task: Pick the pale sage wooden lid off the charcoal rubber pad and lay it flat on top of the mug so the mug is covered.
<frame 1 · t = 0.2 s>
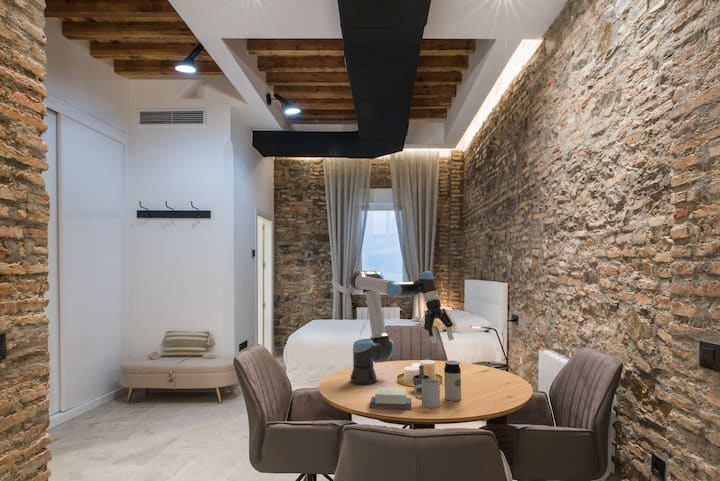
hand: (443, 341, 205), 28 cm above the table, tool tilted 20°, fingers open, 13 cm apart
lid: (391, 399, 192), point 2 cm above the table, touching mat
travel mug: (453, 399, 201), on the table
mat: (391, 405, 192), on the table
mug: (427, 405, 191), on the table
mortar and pestle: (421, 390, 216), on the table
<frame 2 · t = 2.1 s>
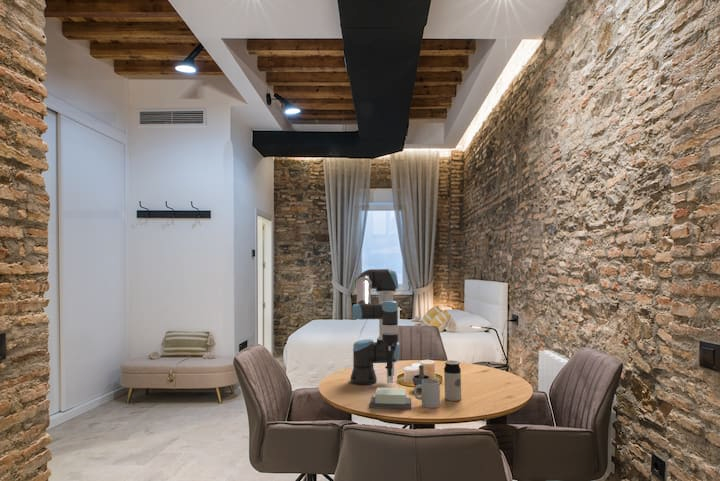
hand: (390, 379, 192), 12 cm above the table, tool pointing down, fingers open, 13 cm apart
nothing on the table moved.
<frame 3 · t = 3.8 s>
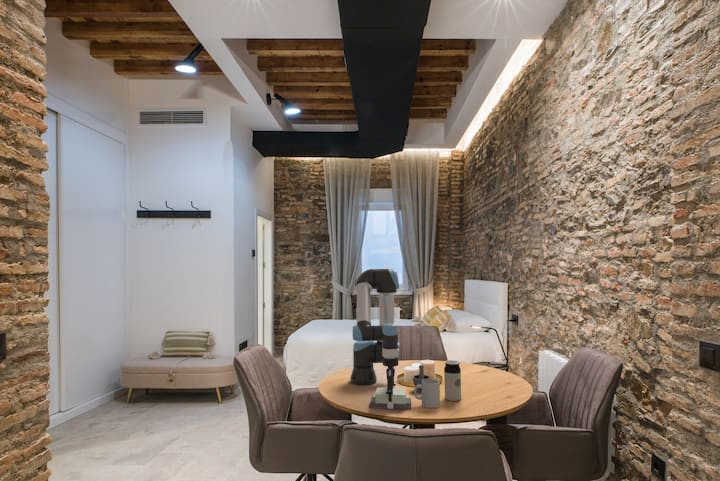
hand: (391, 404, 192), 1 cm above the table, tool pointing down, fingers closed on lid, 11 cm apart
lid: (391, 399, 192), point 3 cm above the table, touching gripper, mat
everything else where it was.
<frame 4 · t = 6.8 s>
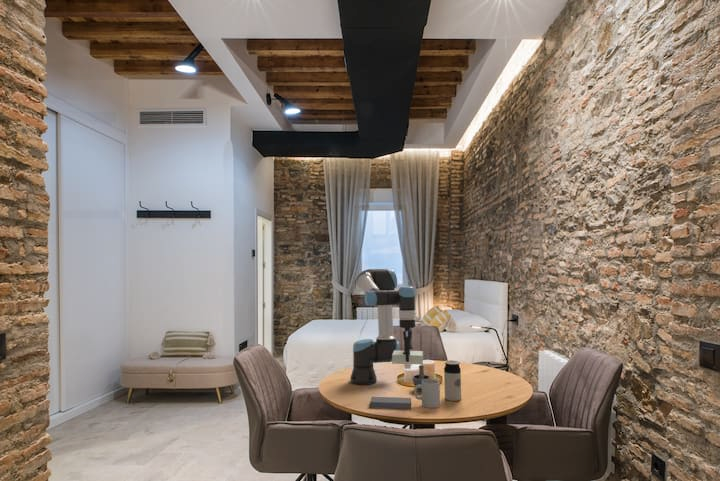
hand: (408, 365, 193), 18 cm above the table, tool pointing down, fingers closed on lid, 11 cm apart
lid: (407, 361, 193), point 20 cm above the table, touching gripper
everything else where it was.
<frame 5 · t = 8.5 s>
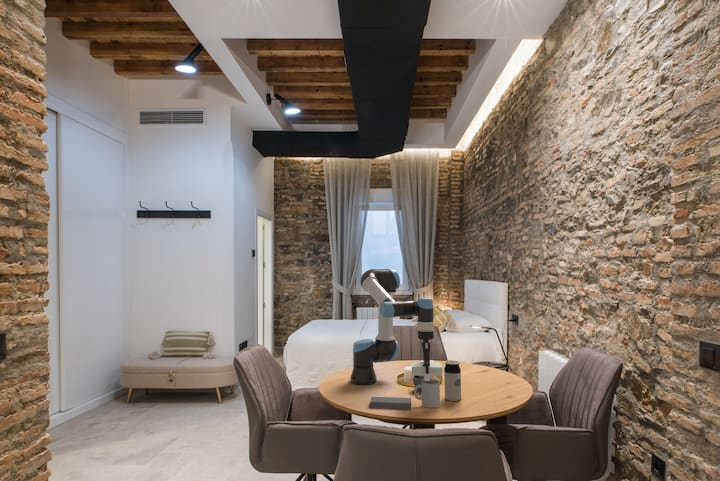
hand: (426, 377, 192), 13 cm above the table, tool pointing down, fingers closed on lid, 11 cm apart
lid: (426, 373, 192), point 15 cm above the table, touching gripper
everything else where it was.
when the fingers open (11 cm above the table, at t = 9.8 s): lid drops 2 cm, resting on mug.
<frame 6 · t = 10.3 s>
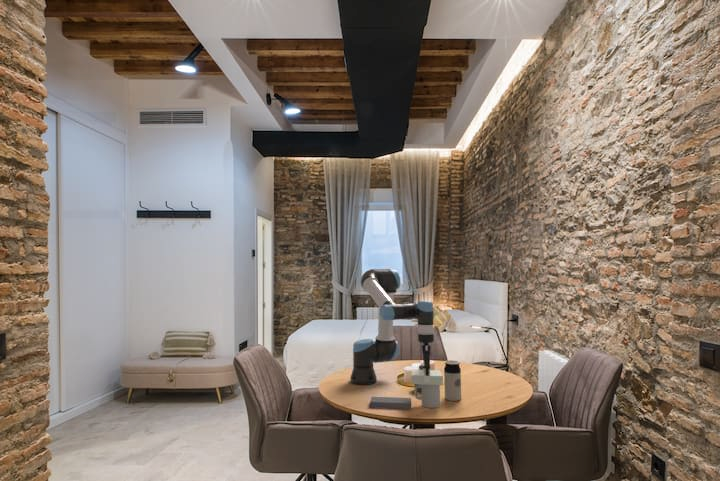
hand: (426, 378, 192), 12 cm above the table, tool pointing down, fingers open, 13 cm apart
lid: (426, 381, 192), point 11 cm above the table, touching mug
mug: (427, 405, 191), on the table, touching lid
everything else where it was.
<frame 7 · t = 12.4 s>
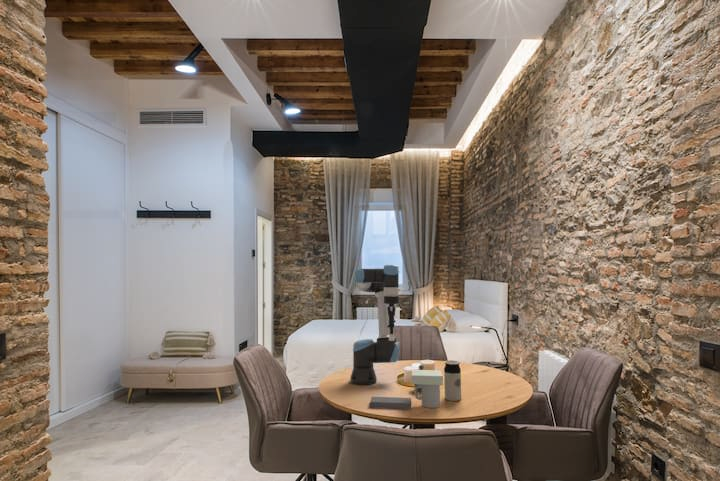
hand: (391, 338, 204), 30 cm above the table, tool pointing down, fingers open, 13 cm apart
nothing on the table moved.
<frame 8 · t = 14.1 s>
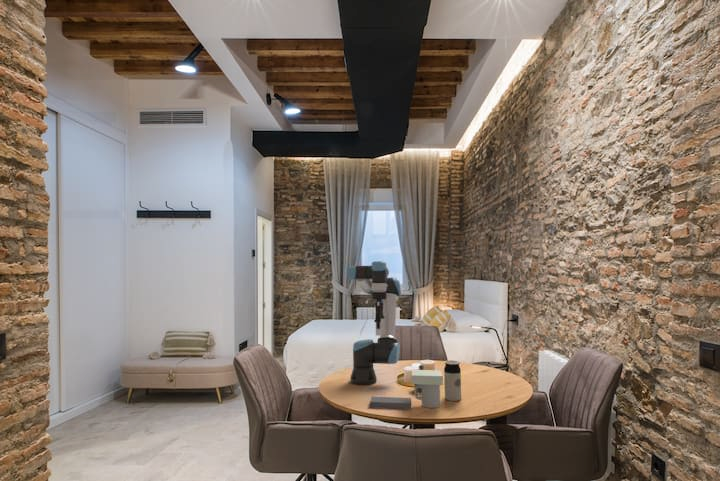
hand: (379, 333, 207), 32 cm above the table, tool pointing down, fingers open, 13 cm apart
nothing on the table moved.
at the end: lid 0.0 cm off-centre on the mug, point 11.2 cm above the mug's base; lid tilted 0°; mug tilted 0° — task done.
